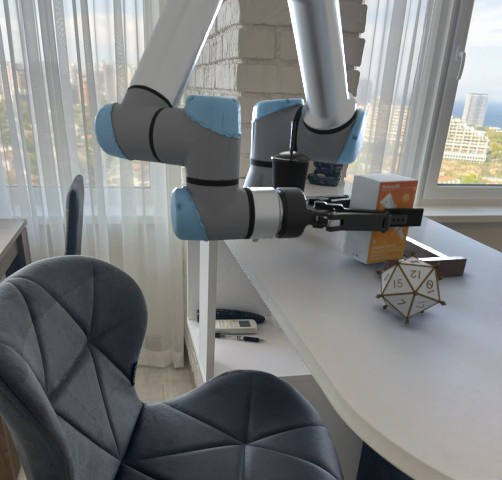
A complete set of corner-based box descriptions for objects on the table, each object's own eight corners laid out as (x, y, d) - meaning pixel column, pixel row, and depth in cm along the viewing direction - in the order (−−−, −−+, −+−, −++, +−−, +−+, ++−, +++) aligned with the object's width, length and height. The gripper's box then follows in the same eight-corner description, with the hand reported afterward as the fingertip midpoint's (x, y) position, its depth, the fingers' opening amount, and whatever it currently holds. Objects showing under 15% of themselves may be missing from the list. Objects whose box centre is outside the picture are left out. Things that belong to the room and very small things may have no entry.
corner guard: (337, 247, 92) (339, 232, 91) (403, 244, 96) (406, 230, 95) (386, 280, 77) (389, 262, 76) (463, 275, 81) (467, 258, 80)
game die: (391, 334, 68) (397, 265, 70) (454, 333, 63) (459, 257, 65) (357, 318, 62) (365, 241, 64) (425, 314, 56) (431, 230, 58)
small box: (366, 265, 80) (380, 181, 74) (341, 253, 85) (352, 174, 79) (403, 259, 84) (419, 179, 78) (377, 248, 89) (391, 172, 83)
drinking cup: (277, 221, 107) (285, 119, 98) (310, 227, 104) (321, 122, 95) (259, 228, 101) (265, 120, 92) (293, 235, 98) (303, 123, 89)
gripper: (254, 221, 87) (372, 219, 93) (297, 257, 69) (439, 251, 76) (256, 176, 83) (379, 176, 90) (302, 202, 66) (450, 201, 72)
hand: (406, 211), depth 83 cm, fingers closed on small box, 7 cm apart
